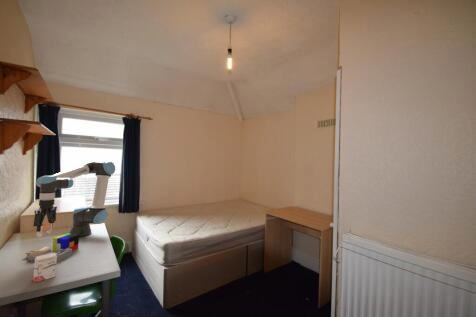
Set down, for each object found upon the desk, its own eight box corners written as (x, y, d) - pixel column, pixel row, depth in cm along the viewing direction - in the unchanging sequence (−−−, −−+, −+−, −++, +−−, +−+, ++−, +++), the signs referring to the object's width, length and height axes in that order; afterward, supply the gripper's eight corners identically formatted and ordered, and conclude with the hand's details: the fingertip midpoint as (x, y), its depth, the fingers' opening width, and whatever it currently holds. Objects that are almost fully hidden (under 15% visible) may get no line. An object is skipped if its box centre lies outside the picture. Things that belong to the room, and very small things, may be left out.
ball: (44, 229, 137) (44, 220, 137) (53, 230, 137) (53, 221, 137) (35, 232, 131) (36, 223, 131) (44, 233, 131) (45, 223, 131)
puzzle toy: (63, 254, 139) (64, 239, 139) (52, 252, 141) (53, 237, 141) (78, 248, 149) (79, 234, 149) (66, 247, 151) (67, 233, 151)
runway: (42, 255, 139) (43, 246, 139) (71, 256, 139) (72, 247, 139) (27, 262, 129) (28, 252, 129) (59, 263, 129) (59, 253, 129)
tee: (30, 255, 136) (31, 250, 136) (36, 255, 136) (37, 250, 136) (24, 257, 132) (25, 253, 132) (30, 258, 132) (31, 253, 132)
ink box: (33, 283, 106) (35, 259, 106) (32, 279, 109) (34, 256, 109) (55, 276, 112) (57, 254, 113) (54, 273, 116) (55, 252, 116)
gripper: (54, 196, 144) (51, 230, 143) (26, 201, 125) (23, 239, 125) (64, 197, 144) (62, 230, 144) (39, 201, 126) (35, 240, 125)
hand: (44, 234), depth 134 cm, fingers closed on ball, 6 cm apart
